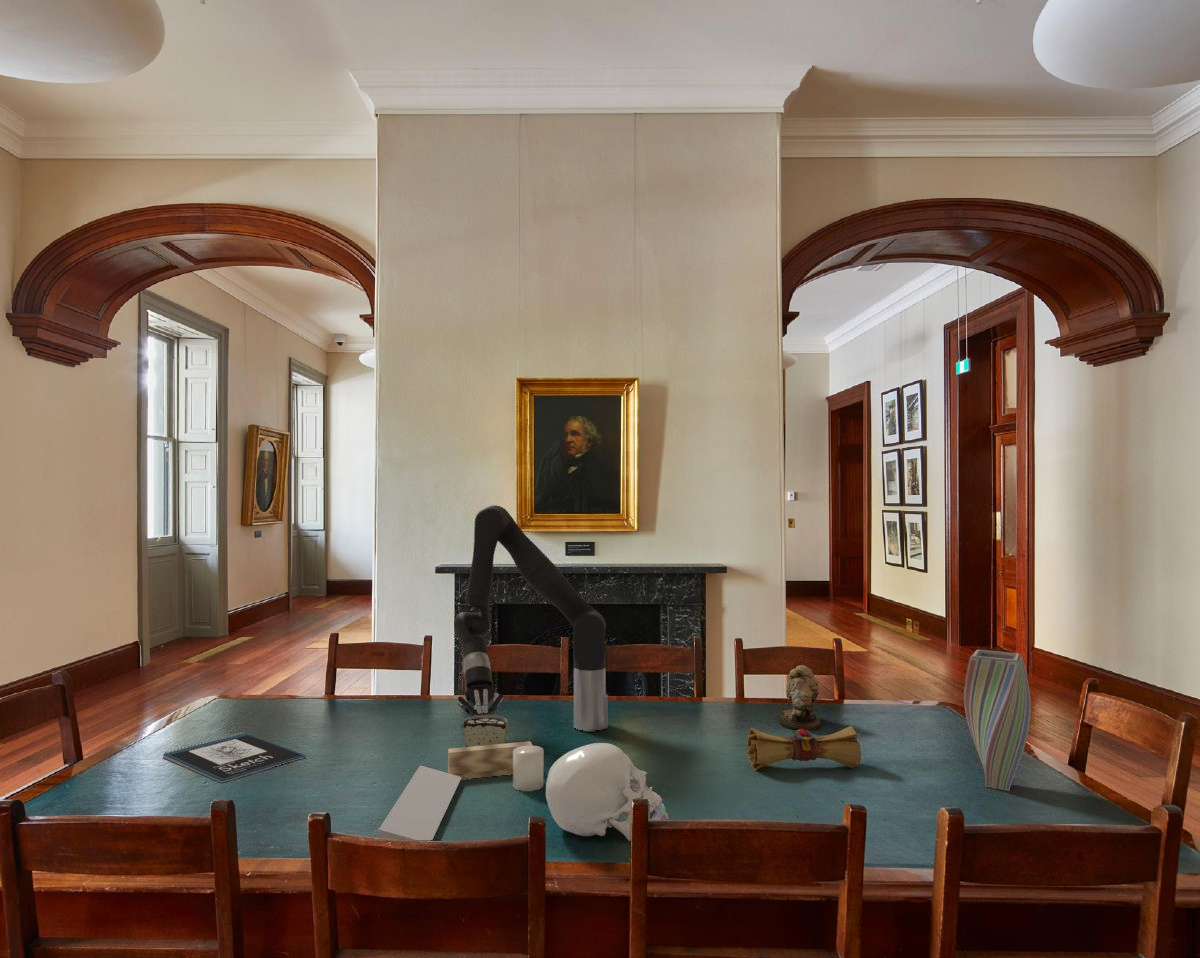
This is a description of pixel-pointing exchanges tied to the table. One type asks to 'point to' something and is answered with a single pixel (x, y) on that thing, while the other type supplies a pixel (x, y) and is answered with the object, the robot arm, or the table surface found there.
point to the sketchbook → (232, 757)
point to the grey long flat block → (420, 806)
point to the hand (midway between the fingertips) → (483, 728)
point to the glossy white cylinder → (528, 768)
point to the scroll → (803, 747)
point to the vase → (997, 712)
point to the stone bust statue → (801, 700)
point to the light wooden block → (483, 760)
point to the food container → (484, 730)
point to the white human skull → (597, 790)
